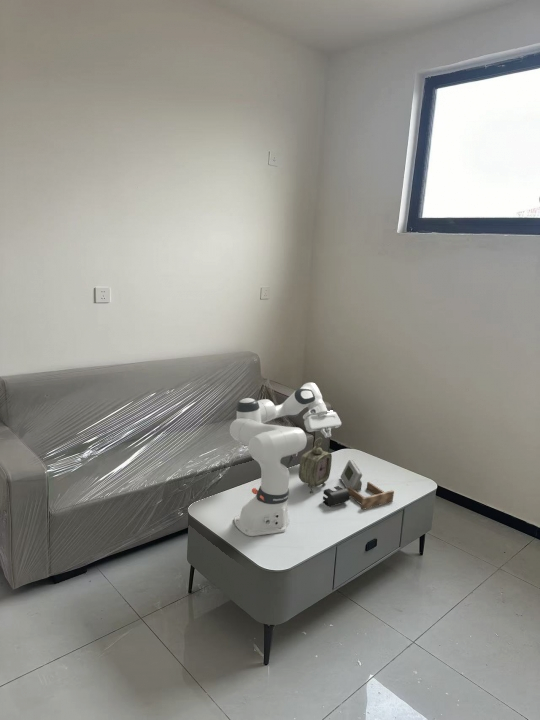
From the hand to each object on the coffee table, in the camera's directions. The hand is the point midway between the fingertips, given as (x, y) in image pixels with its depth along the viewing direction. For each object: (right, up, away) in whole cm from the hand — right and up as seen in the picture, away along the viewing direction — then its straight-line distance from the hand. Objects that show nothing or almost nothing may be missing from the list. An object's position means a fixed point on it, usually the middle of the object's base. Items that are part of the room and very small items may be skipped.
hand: (328, 437), depth 251 cm
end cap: (0, -25, -30) cm, 39 cm away
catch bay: (+15, -24, -23) cm, 37 cm away
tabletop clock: (-9, -21, -17) cm, 29 cm away
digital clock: (+9, -22, -13) cm, 27 cm away
